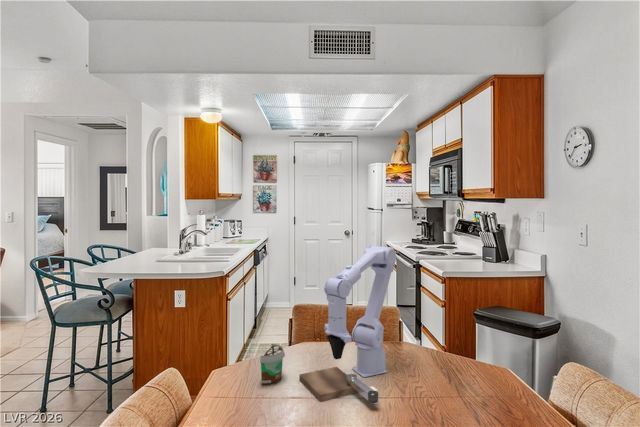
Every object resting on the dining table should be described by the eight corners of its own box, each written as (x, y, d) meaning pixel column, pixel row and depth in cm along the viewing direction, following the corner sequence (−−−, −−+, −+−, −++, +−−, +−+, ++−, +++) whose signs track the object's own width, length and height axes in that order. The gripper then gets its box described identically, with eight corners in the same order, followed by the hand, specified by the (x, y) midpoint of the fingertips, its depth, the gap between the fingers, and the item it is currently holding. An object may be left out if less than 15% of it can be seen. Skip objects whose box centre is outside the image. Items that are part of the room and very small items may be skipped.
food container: (278, 389, 131) (278, 357, 130) (260, 387, 132) (259, 356, 132) (289, 372, 143) (289, 344, 142) (272, 371, 144) (272, 343, 144)
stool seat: (336, 372, 143) (336, 366, 143) (360, 391, 128) (360, 385, 128) (299, 380, 137) (299, 374, 137) (320, 401, 122) (320, 395, 122)
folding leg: (345, 382, 130) (345, 375, 130) (353, 380, 131) (353, 373, 131) (371, 404, 117) (371, 395, 116) (380, 401, 118) (380, 393, 118)
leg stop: (372, 399, 124) (372, 386, 124) (378, 403, 121) (378, 390, 121) (369, 400, 123) (369, 386, 123) (374, 404, 121) (374, 391, 121)
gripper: (316, 311, 136) (316, 352, 136) (336, 324, 123) (337, 369, 123) (335, 309, 139) (335, 349, 139) (357, 320, 126) (357, 364, 126)
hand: (337, 358), depth 131 cm, fingers closed
